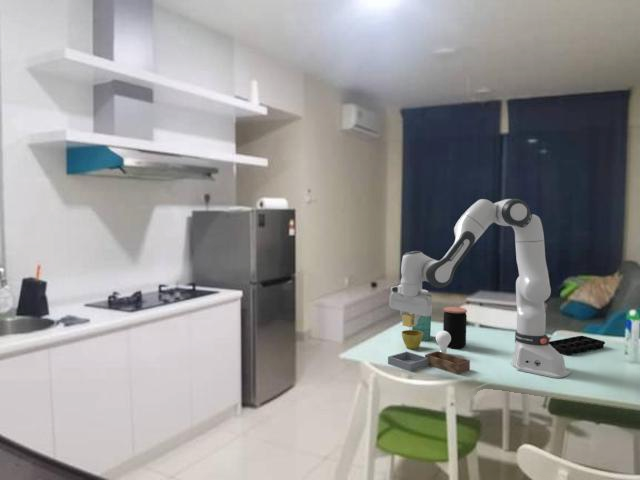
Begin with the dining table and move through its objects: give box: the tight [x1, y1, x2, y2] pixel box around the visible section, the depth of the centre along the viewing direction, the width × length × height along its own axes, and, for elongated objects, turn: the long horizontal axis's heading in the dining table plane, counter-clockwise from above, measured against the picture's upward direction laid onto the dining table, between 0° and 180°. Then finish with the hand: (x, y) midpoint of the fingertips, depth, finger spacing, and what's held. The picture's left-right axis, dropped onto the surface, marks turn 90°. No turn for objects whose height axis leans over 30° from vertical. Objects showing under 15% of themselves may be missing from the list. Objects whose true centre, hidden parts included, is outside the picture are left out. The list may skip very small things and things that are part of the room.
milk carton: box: [408, 288, 432, 341], centre depth 242 cm, size 9×9×25 cm
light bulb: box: [435, 330, 451, 354], centre depth 214 cm, size 7×7×11 cm
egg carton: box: [549, 335, 606, 356], centre depth 226 cm, size 18×30×4 cm, turn 129°
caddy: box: [424, 350, 471, 375], centre depth 196 cm, size 16×8×4 cm, turn 40°
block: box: [402, 313, 416, 328], centre depth 197 cm, size 4×4×4 cm
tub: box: [387, 351, 429, 372], centre depth 199 cm, size 12×12×4 cm
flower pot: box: [401, 329, 423, 350], centre depth 225 cm, size 10×10×7 cm
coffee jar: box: [442, 306, 468, 350], centre depth 228 cm, size 11×11×18 cm
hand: (409, 322), depth 198 cm, fingers closed on block, 4 cm apart
